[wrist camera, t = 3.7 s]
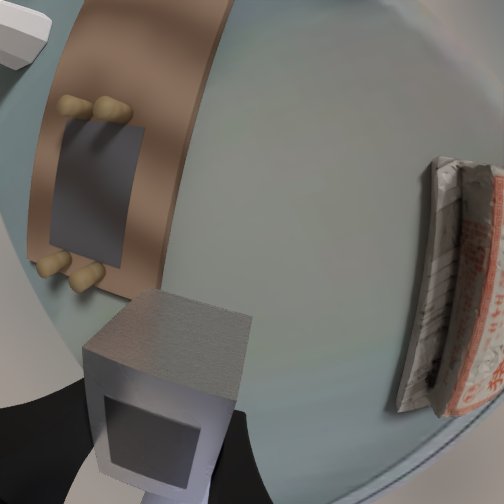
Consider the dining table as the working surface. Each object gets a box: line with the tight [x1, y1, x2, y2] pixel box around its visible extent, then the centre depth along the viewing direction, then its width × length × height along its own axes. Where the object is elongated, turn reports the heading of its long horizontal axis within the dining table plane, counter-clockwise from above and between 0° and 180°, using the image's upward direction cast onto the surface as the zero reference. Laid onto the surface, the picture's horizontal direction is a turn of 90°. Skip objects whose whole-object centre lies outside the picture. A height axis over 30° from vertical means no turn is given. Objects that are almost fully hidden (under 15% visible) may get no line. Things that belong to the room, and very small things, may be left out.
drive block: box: [82, 286, 253, 504], centre depth 10 cm, size 7×4×5 cm, turn 166°
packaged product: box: [396, 156, 504, 418], centre depth 15 cm, size 18×5×10 cm
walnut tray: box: [27, 0, 234, 300], centre depth 15 cm, size 20×11×4 cm, turn 166°
